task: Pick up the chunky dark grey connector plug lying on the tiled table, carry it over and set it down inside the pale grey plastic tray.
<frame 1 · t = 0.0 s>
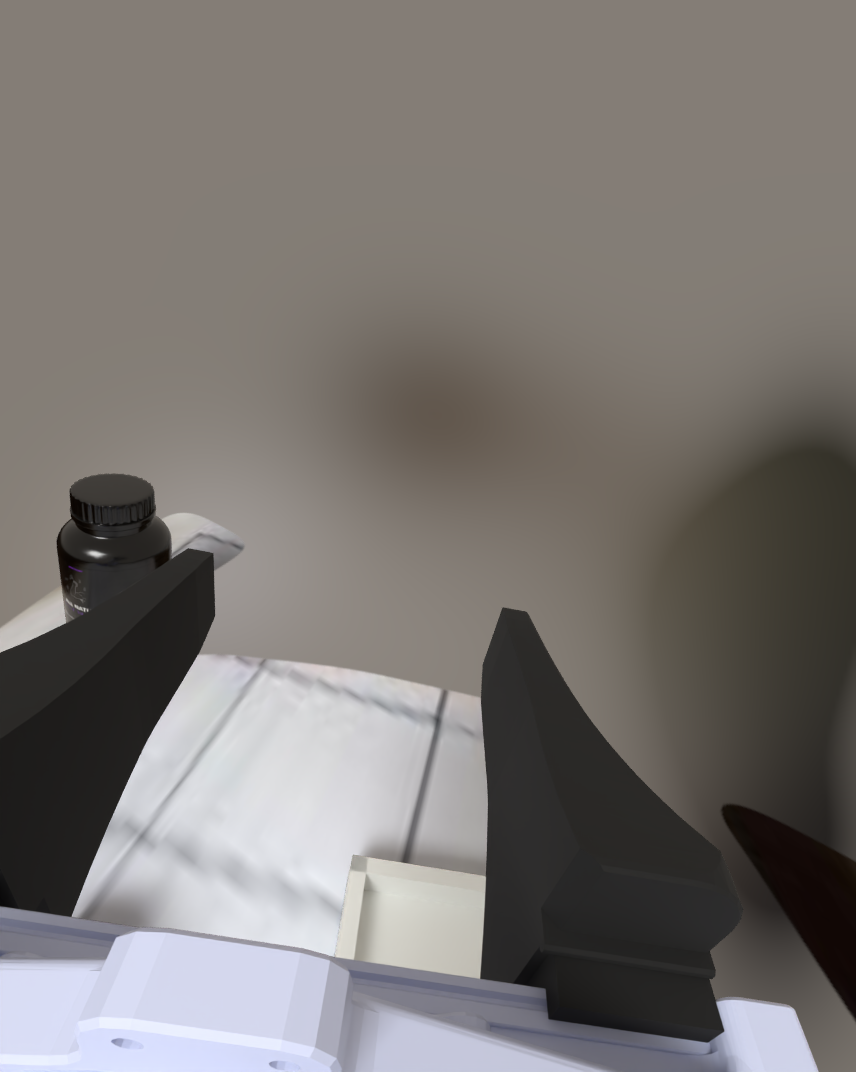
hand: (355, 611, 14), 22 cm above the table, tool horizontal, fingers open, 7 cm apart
tray: (448, 1035, 25), on the table
supplement bottle: (123, 634, 42), on the table
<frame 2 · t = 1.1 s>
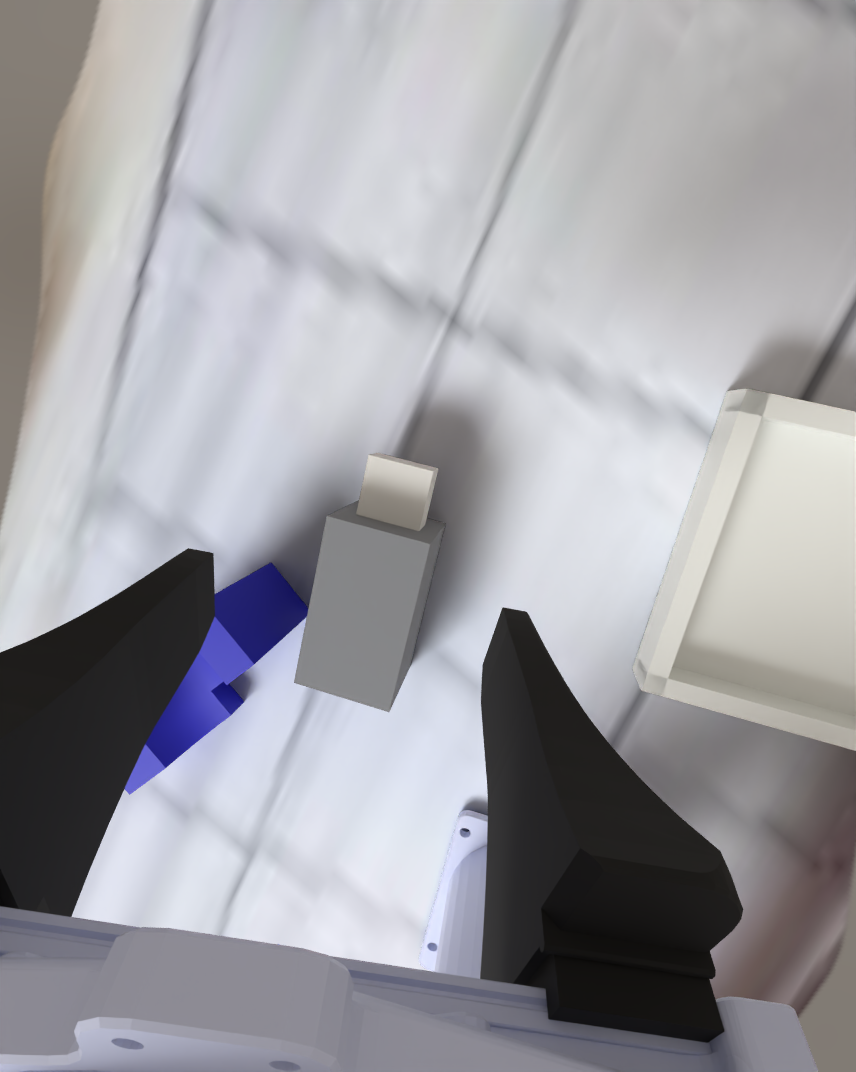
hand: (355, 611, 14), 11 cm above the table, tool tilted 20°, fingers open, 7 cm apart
blue u-shaped cradle block: (219, 663, 28), on the table
tray: (816, 573, 22), on the table
connector: (386, 584, 26), on the table
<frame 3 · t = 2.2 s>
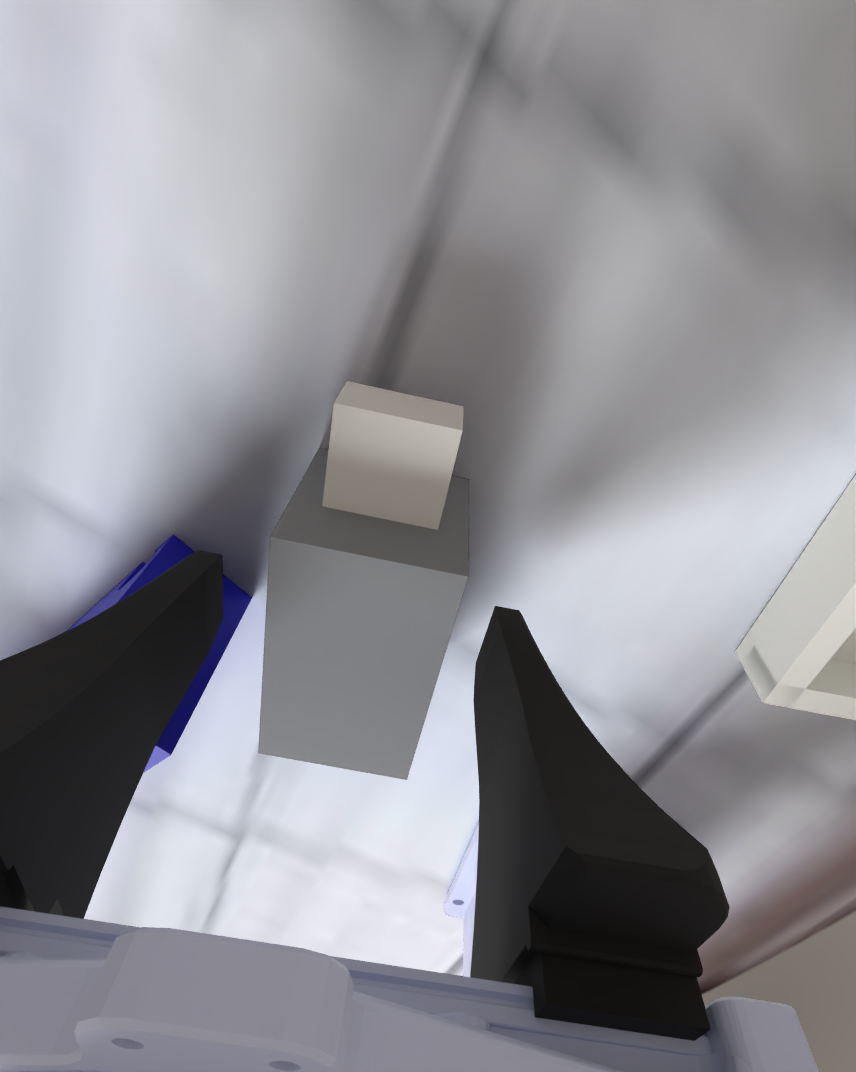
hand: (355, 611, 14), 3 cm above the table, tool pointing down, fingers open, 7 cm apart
blue u-shaped cradle block: (134, 655, 20), on the table, touching gripper
connector: (375, 566, 17), on the table
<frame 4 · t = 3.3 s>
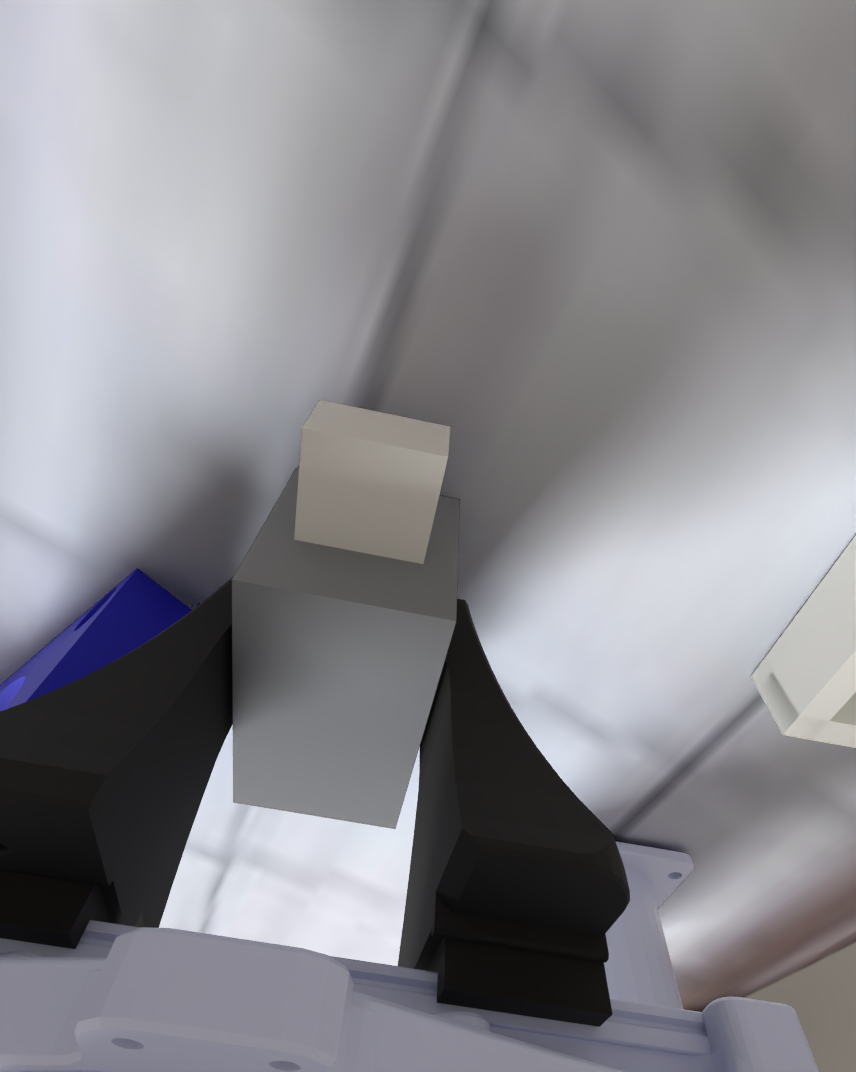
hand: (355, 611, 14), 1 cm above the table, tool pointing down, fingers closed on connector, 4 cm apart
blue u-shaped cradle block: (97, 690, 19), on the table
connector: (361, 593, 15), on the table, touching gripper
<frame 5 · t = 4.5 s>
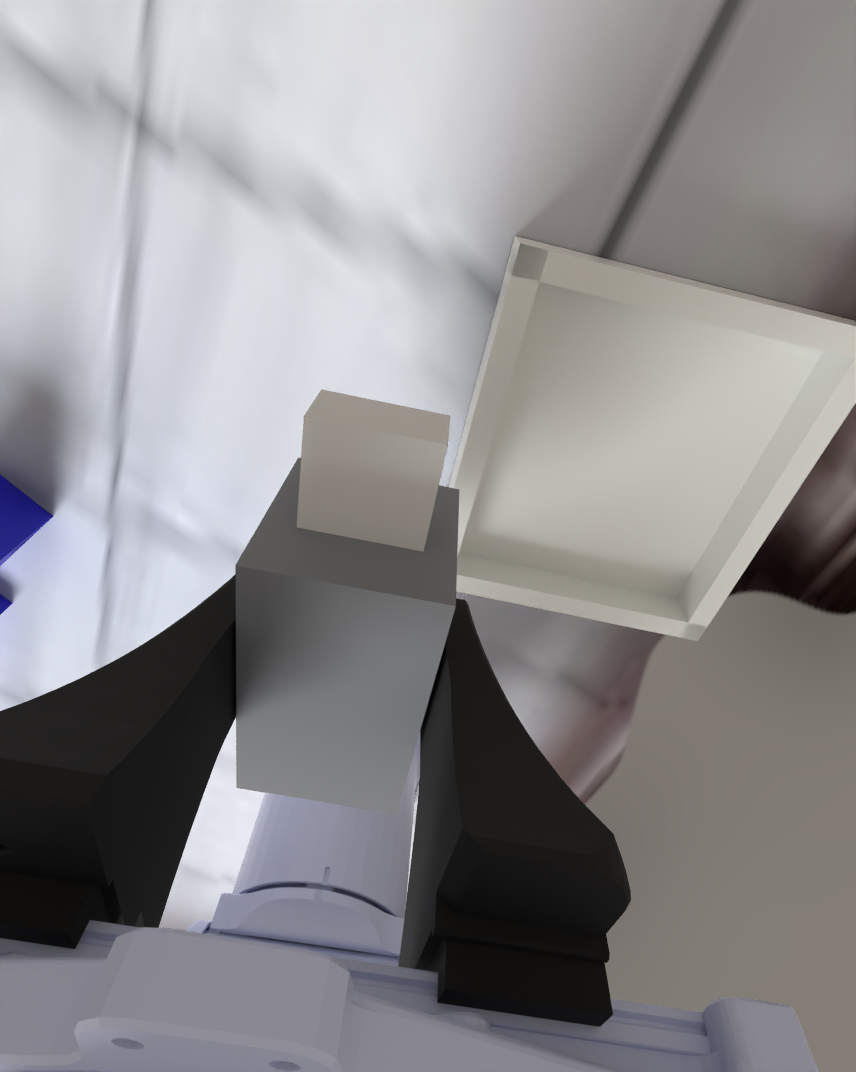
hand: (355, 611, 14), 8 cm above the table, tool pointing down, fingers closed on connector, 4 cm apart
tray: (613, 455, 20), on the table
connector: (362, 583, 16), point 7 cm above the table, touching gripper
when the fingers open (3 cm above the table, at t = 6.3 s): connector drops 1 cm, resting on tray.
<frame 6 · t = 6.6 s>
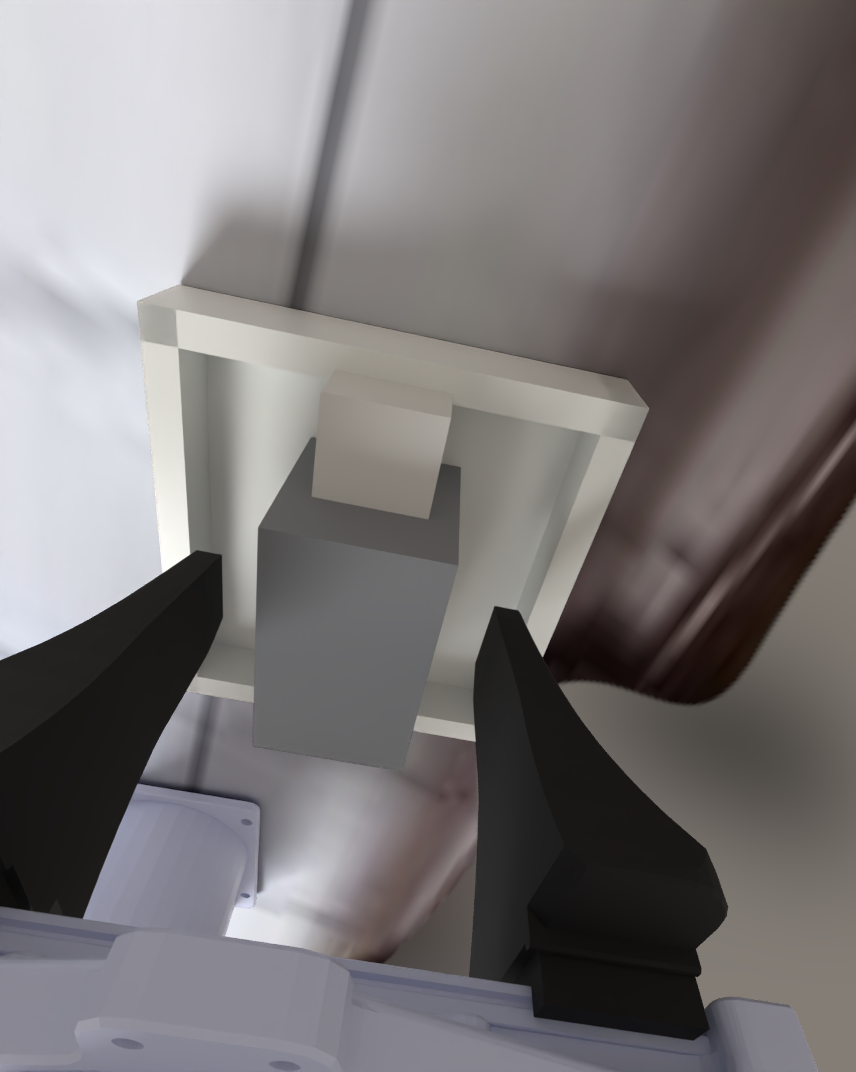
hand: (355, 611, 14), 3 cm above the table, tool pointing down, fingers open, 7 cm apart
tray: (374, 536, 17), on the table
connector: (369, 558, 17), resting on tray
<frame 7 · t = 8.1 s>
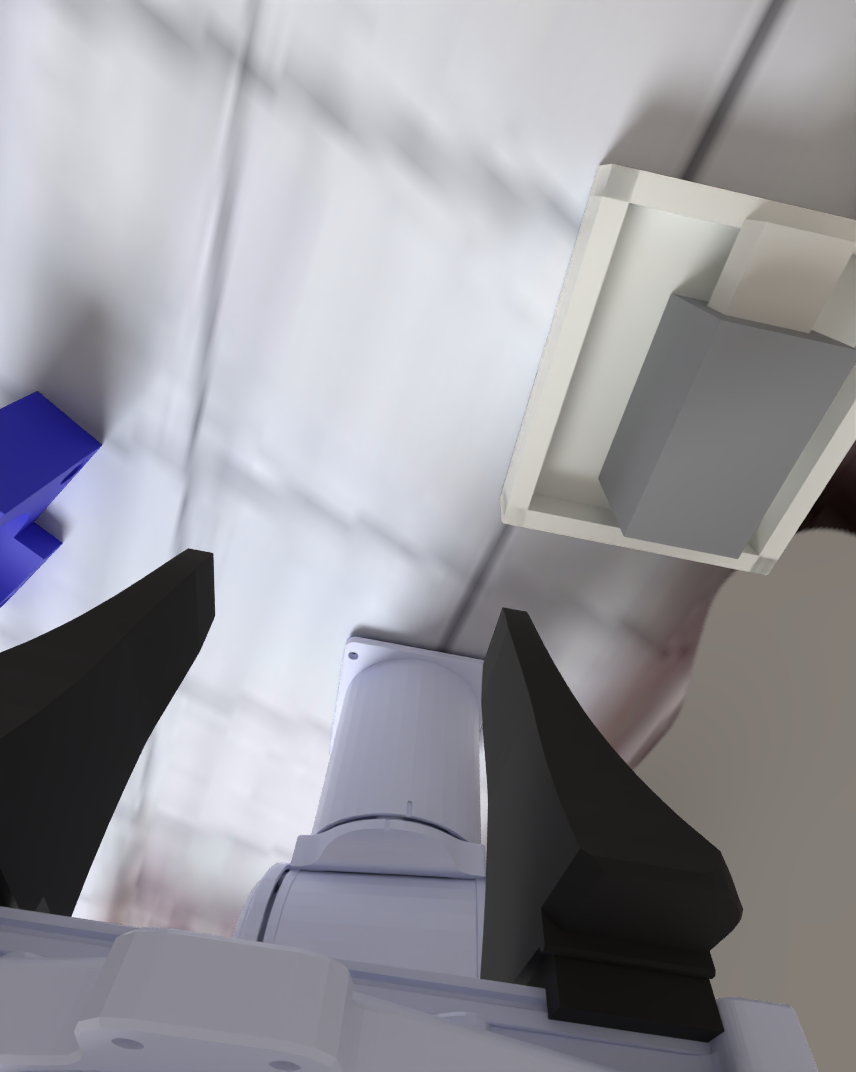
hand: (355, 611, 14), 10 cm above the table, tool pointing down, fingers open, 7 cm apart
blue u-shaped cradle block: (23, 507, 26), on the table
tray: (685, 388, 21), on the table
connector: (683, 405, 21), resting on tray
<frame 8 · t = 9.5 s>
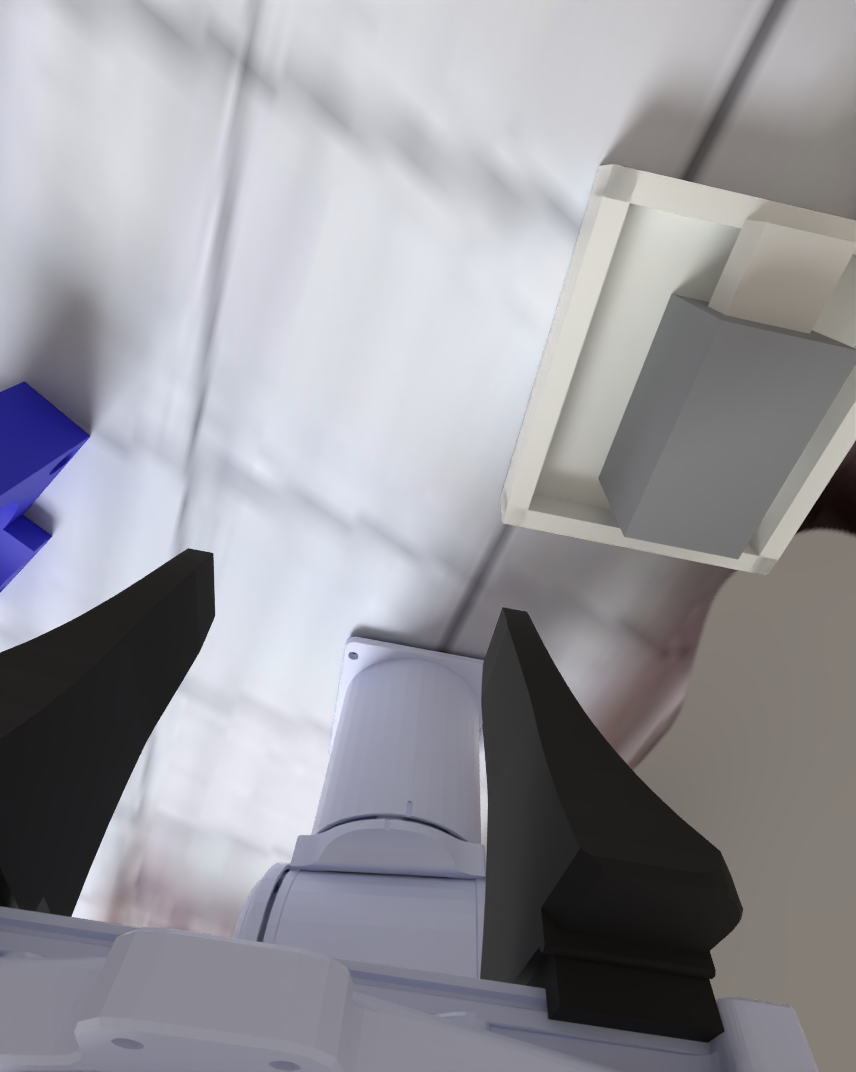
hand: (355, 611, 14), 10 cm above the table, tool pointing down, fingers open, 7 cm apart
blue u-shaped cradle block: (13, 499, 26), on the table
tray: (685, 389, 21), on the table
connector: (683, 405, 21), resting on tray
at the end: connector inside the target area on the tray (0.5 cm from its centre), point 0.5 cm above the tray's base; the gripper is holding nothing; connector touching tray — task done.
